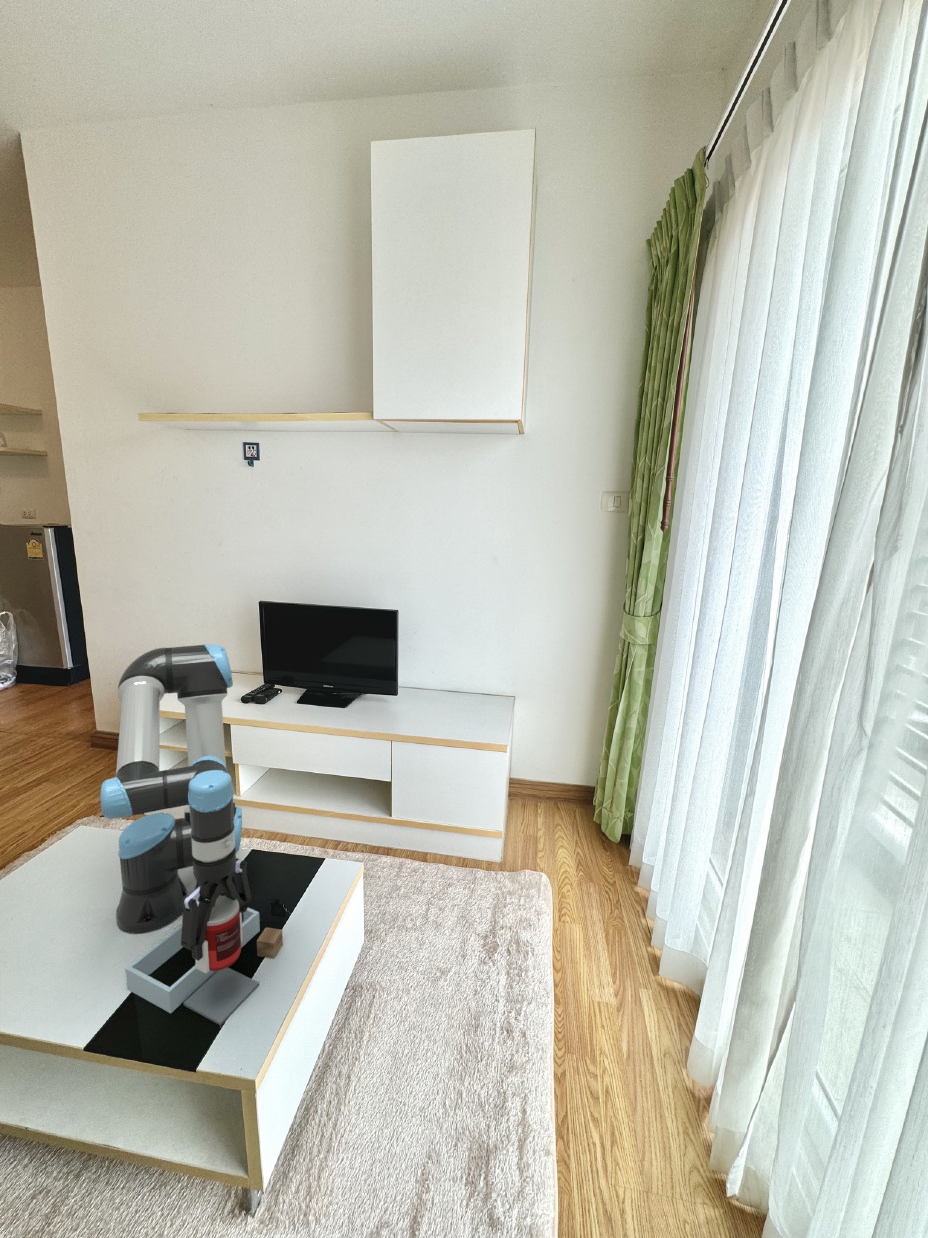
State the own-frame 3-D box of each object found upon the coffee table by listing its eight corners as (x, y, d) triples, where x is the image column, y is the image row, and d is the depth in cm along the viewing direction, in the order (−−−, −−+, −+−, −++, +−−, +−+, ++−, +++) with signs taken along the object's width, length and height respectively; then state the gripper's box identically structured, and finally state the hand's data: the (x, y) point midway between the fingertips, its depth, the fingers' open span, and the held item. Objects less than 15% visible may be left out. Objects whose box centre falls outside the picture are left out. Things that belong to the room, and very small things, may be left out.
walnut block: (257, 956, 120) (256, 941, 119) (266, 942, 123) (265, 927, 123) (274, 959, 119) (273, 943, 118) (282, 945, 123) (282, 930, 122)
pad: (183, 1005, 107) (183, 1003, 107) (223, 967, 116) (223, 965, 116) (220, 1025, 103) (220, 1023, 103) (259, 985, 112) (259, 982, 112)
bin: (127, 989, 110) (125, 968, 109) (220, 913, 131) (219, 895, 130) (170, 1013, 105) (169, 992, 104) (259, 930, 127) (259, 912, 126)
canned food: (206, 942, 111) (203, 895, 109) (246, 941, 112) (244, 894, 110) (191, 973, 104) (188, 923, 101) (234, 971, 104) (231, 922, 102)
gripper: (181, 890, 93) (189, 1002, 97) (268, 829, 111) (271, 925, 115) (151, 877, 95) (160, 986, 100) (240, 820, 114) (244, 914, 118)
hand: (220, 953), depth 108 cm, fingers closed on canned food, 8 cm apart
